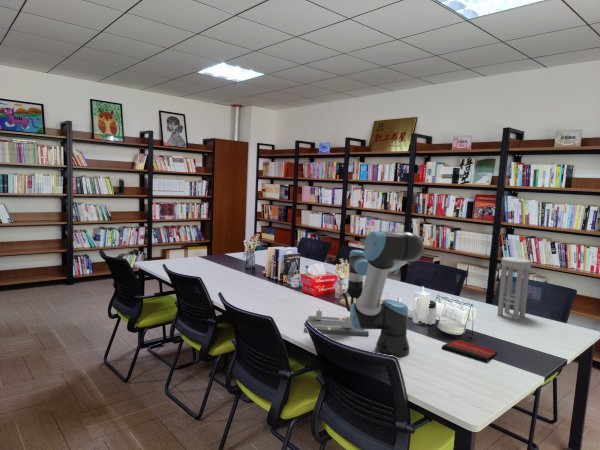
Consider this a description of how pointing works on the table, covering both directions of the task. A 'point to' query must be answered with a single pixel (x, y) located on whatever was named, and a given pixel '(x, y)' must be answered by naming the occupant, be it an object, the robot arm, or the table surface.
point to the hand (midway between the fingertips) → (353, 324)
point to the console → (335, 326)
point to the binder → (470, 350)
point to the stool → (520, 264)
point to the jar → (431, 313)
